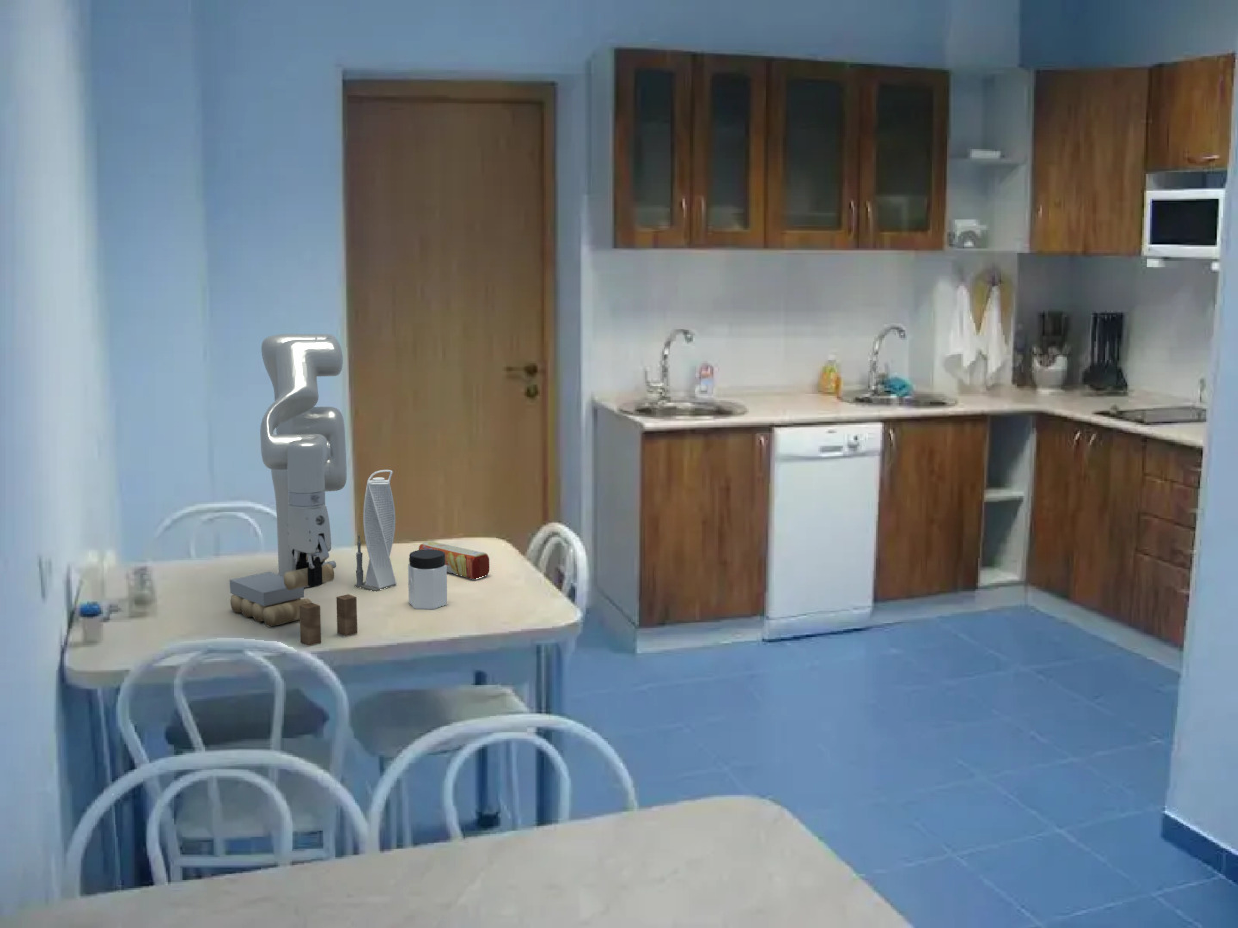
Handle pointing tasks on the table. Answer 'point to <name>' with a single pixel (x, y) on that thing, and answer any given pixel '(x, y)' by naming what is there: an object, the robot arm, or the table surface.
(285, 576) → the roller
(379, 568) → the skyscraper
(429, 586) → the jar
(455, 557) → the snack package
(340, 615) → the posts
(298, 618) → the roller track
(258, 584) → the slab
